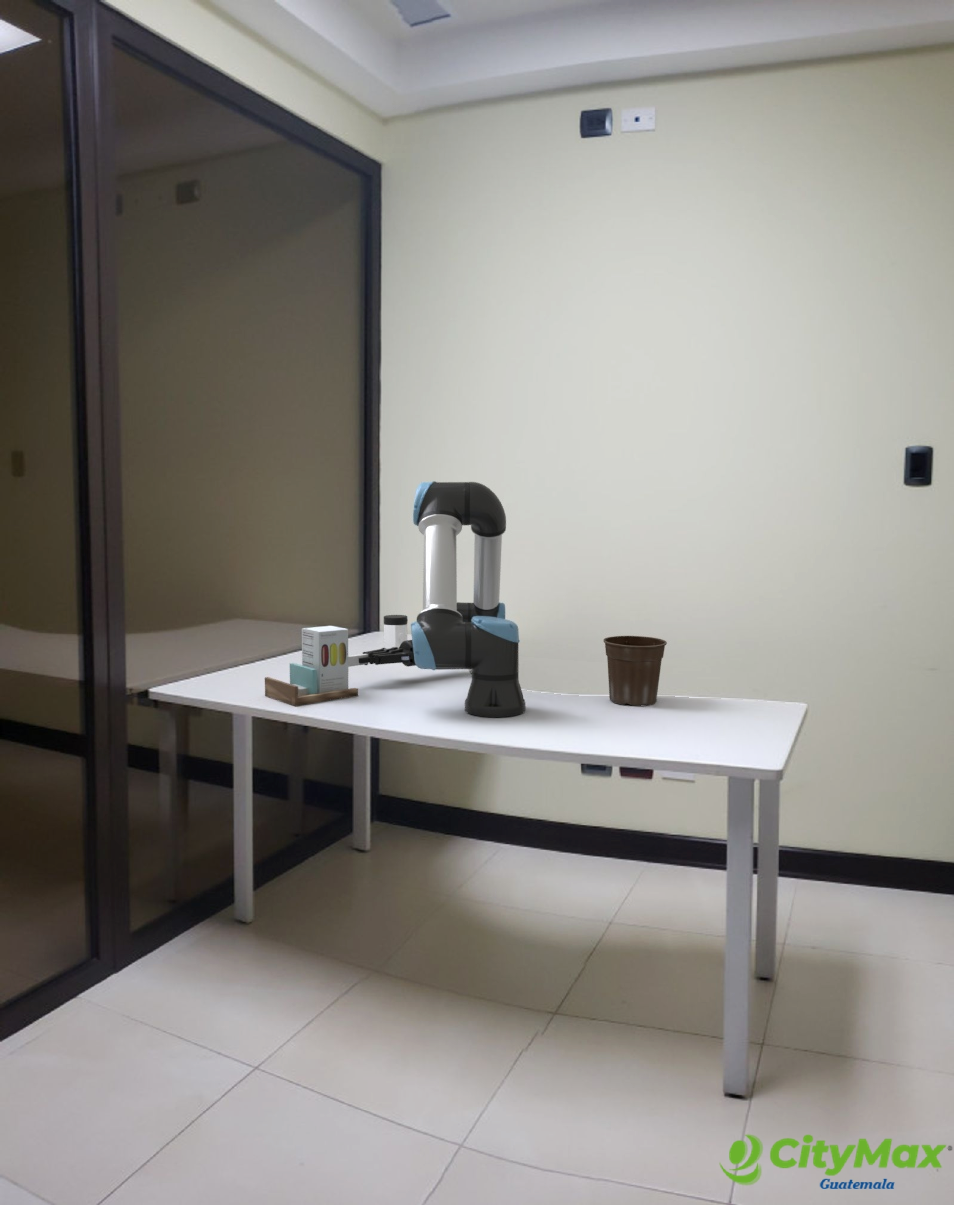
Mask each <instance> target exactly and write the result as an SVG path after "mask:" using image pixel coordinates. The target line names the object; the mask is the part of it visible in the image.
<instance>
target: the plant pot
mask: <svg viewBox="0 0 954 1205" xmlns="http://www.w3.org/2000/svg"><path fill="white" fill-rule="evenodd" d="M667 642H668V641H667V640H664V639H663V638H662V639H661V638H659V637H652V636H643V635H642V636H641V635H640V636H639V635H614V636H608V637H605V638H604V639H603V643H604V648H605V656H606V657H607V658H606V659H607V661H606V662H607V674H608V676H607V677H608V690H609V691H608V692H609V694H608V695H609V696H608V697H609V701H611V702H612V703H614V704H618V705H623V706H625V705H627V704H628V705H630V706H634V707H635V706H637V707H638V706H639V707H642V706H641V705H646V706H650V704H651V705H654V704H655V703H656V702H657V700H658V691H659V690H658V689H659V681H660V676H661V675H660V674H661V667H662V660H663V658H664V656H665V655H664V654H665V649H666V648H665V647H666V645H667V644H668V643H667ZM653 703H654V704H653Z"/></svg>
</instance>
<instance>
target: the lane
mask: <svg viewBox="0 0 954 1205" xmlns="http://www.w3.org/2000/svg"><path fill="white" fill-rule="evenodd" d="M264 696H265V697H267V696H268V697H267V698H270V699H274V700H276V701H278V700H279V702H282V703H284V704H288V705H291V706H293V707H298V706H306V705H311V704H318V703H323V702H329V701H330V702H331V701H335V700H343V699H348V698H354V697H359V688H358V687H351V688H348V689H344V690H337V691H331V692H324V693H318V694H312V695H304V696H298V686H295V685H292V684H290V682H289V683H288V682H285V681H283V680H279V679H275V678H273V677H270V676H266V677H264Z"/></svg>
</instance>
